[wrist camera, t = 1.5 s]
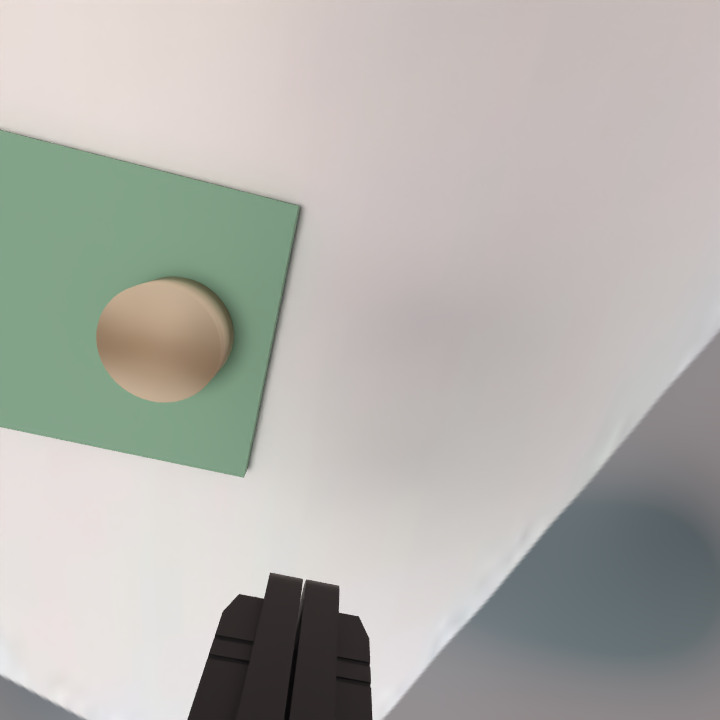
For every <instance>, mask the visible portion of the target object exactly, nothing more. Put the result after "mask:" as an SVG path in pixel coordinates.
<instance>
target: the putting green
mask: <svg viewBox="0 0 720 720" xmlns="http://www.w3.org/2000/svg"><path fill="white" fill-rule="evenodd" d="M299 211H300V206H298V205H294V204H290V203H286V202H282V201H278V200H274V199H270V198H266V197H262V196H258V195H255V194H251V193H247V192H243V191H239V190H235V189H231V188H227V187H223V186H219V185H215V184H211V183H207V182H203V181H199V180H195V179H191V178H188V177H184V176H180V175H176V174H172V173H168V172H164V171H160V170H156V169H152V168H148V167H144V166H140V165H136V164H132V163H128V162H124V161H120V160H117V159H113V158H109V157H105V156H101V155H97V154H93V153H89V152H85V151H81V150H77V149H73V148H69V147H65V146H61V145H57V144H53V143H50V142H46V141H42V140H38V139H34V138H30V137H26V136H22V135H18V134H14V133H10V132H6V131H2V130H0V427H3V428H8V429H13V430H17V431H22V432H27V433H32V434H37V435H42V436H46V437H51V438H56V439H61V440H66V441H70V442H75V443H80V444H85V445H90V446H94V447H99V448H104V449H109V450H114V451H119V452H123V453H128V454H133V455H138V456H143V457H147V458H152V459H157V460H162V461H167V462H171V463H176V464H181V465H186V466H191V467H195V468H200V469H205V470H210V471H215V472H220V473H224V474H229V475H234V476H239V477H244V476H245V474H246V471H247V468H248V463H249V458H250V453H251V448H252V443H253V438H254V433H255V428H256V423H257V419H258V414H259V409H260V404H261V399H262V394H263V389H264V384H265V379H266V374H267V369H268V364H269V359H270V354H271V349H272V344H273V339H274V334H275V329H276V325H277V320H278V315H279V310H280V305H281V300H282V295H283V290H284V285H285V280H286V275H287V270H288V265H289V260H290V255H291V250H292V245H293V240H294V235H295V231H296V226H297V221H298V216H299ZM172 276H173V277H184V278H188V279H192V280H195V281H197V282H199V283H201V284H203V285H205V286H206V287H208V288H209V289H210V290H212V291H213V292H214V293H215V294H216V295H217V296H218V297H219V298H220V299H221V300H222V302H223V303H224V304H225V306H226V308H227V309H228V312H229V314H230V316H231V319H232V323H233V328H234V342H233V347H232V351H231V353H230V356H229V358H228V360H227V361H226V363H225V364H224V365H223V367H222V368H221V369H220V370H219V371H218V372H217V374H216V375H215V376H214V377H213V378H212V379H211V380H210V382H209V383H208V384H207V385H206V386H205V387H204V388H203V389H202V390H201V391H199V392H198V393H196V394H195V395H193V396H191V397H189V398H187V399H184V400H181V401H176V402H167V403H163V402H153V401H149V400H145V399H142V398H139V397H137V396H135V395H133V394H131V393H129V392H128V391H126V390H125V389H123V388H122V387H121V386H120V385H119V384H117V383H116V382H115V381H114V379H113V378H112V377H111V376H110V375H109V373H108V372H107V370H106V369H105V367H104V365H103V363H102V361H101V359H100V356H99V353H98V349H97V342H96V331H97V325H98V321H99V318H100V316H101V314H102V312H103V310H104V308H105V307H106V305H107V304H108V303H109V302H110V301H111V300H112V299H113V298H114V297H115V296H116V295H118V294H119V293H120V292H122V291H124V290H126V289H128V288H131V287H133V286H136V285H139V284H143V283H146V282H149V281H152V280H155V279H159V278H163V277H172Z"/></svg>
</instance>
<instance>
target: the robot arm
mask: <svg viewBox="0 0 720 720" xmlns="http://www.w3.org/2000/svg"><path fill="white" fill-rule="evenodd" d="M302 583H303V579H300V578H295V577H290V576H285V575H280V574H275V573H270V575H269V580H268V584H267V588H266V593H265V597H264V599H262V598H257V597H252V596H246V595H241V594H239V595H238V596H237V597H236V598H235V599H234V600H233V601H232V602H231V603H230V604H229V606H228V607H227V608H226V609H225V610H224V611H223V613H222V616H221V619H220V622H219V625H218V628H217V631H216V634H215V638H214V640H213V643H212V646H211V649H210V652H209V656H208V659H207V662H206V665H205V668H204V671H203V674H202V677H201V680H200V683H199V686H198V689H197V692H196V695H195V698H194V701H193V704H192V707H191V710H190V714H189V717H188V720H372V699H371V687H370V684H371V673H370V647H369V637H368V635H367V633H366V631H365V629H364V627H363V624H362V622H361V620H360V618H359V617H358V616H353V615H348V614H342V613H339V586H337V585H332V584H327V583H322V582H317V581H312V580H306V581H305V584H304V588H303V592H302V596H301V591H302ZM300 598H301V600H300Z"/></svg>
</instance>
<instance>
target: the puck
mask: <svg viewBox="0 0 720 720" xmlns="http://www.w3.org/2000/svg"><path fill="white" fill-rule="evenodd" d="M96 342H97V349H98V353H99V356H100V359H101V361H102V363H103V365H104V367H105V369H106V370H107V372H108V373H109V375H110V376H111V377H112V378H113V379H114V381H115V382H116V383H117V384H119V385H120V386H121V387H122V388H123V389H125V390H126V391H128V392H129V393H131V394H133V395H135V396H137V397H139V398H142V399H145V400H149V401H153V402H163V403H167V402H176V401H181V400H184V399H187V398H189V397H191V396H193V395H195V394H196V393H198V392H199V391H201V390H202V389H203V388H204V387H205V386H206V385H207V384H208V383H209V382H210V380H211V379H212V378H213V377H214V376H215V375H216V374H217V372H218V371H219V370H220V369H221V368H222V367H223V365H224V364H225V363H226V361H227V360H228V358H229V356H230V353H231V351H232V347H233V342H234V328H233V323H232V319H231V316H230V314H229V312H228V309H227V308H226V306H225V304H224V303H223V302H222V300H221V299H220V298H219V297H218V296H217V295H216V294H215V293H214V292H213V291H212V290H210V289H209V288H208V287H206V286H205V285H203V284H201V283H199V282H197V281H195V280H192V279H188V278H184V277H173V276H172V277H163V278H159V279H155V280H152V281H149V282H146V283H143V284H139V285H136V286H133V287H131V288H128V289H126V290H124V291H122V292H120V293H119V294H118V295H116V296H115V297H114V298H113V299H112V300H111V301H110V302H109V303H108V304H107V305H106V307H105V308H104V310H103V312H102V314H101V316H100V318H99V321H98V325H97V331H96Z"/></svg>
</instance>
